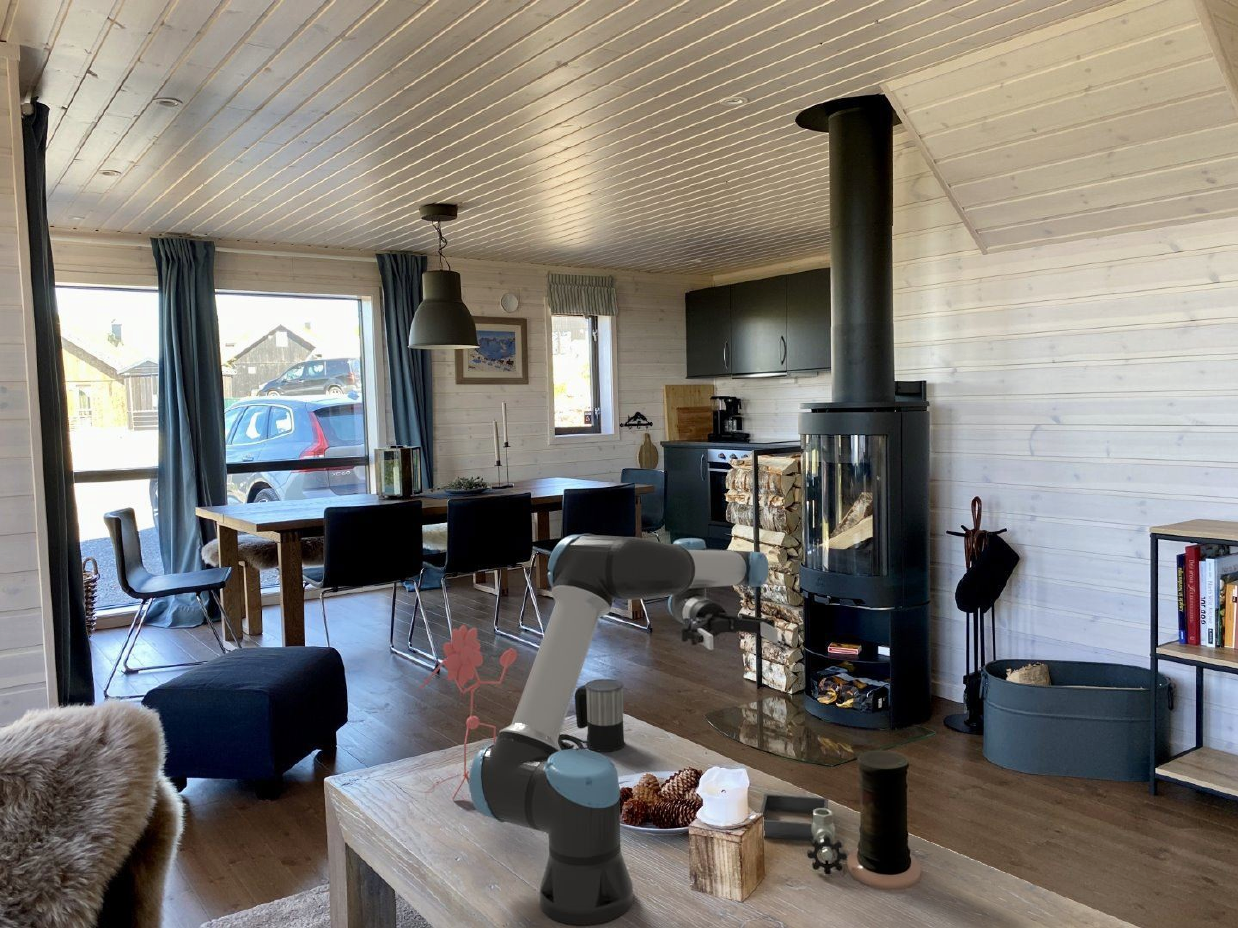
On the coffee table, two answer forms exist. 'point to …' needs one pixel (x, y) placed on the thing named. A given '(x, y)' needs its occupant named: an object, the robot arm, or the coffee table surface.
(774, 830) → the collar
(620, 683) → the milk frother
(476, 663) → the figurine
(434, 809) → the coffee table surface
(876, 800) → the container
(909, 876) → the peach soap bar
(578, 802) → the robot arm
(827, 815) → the valve
